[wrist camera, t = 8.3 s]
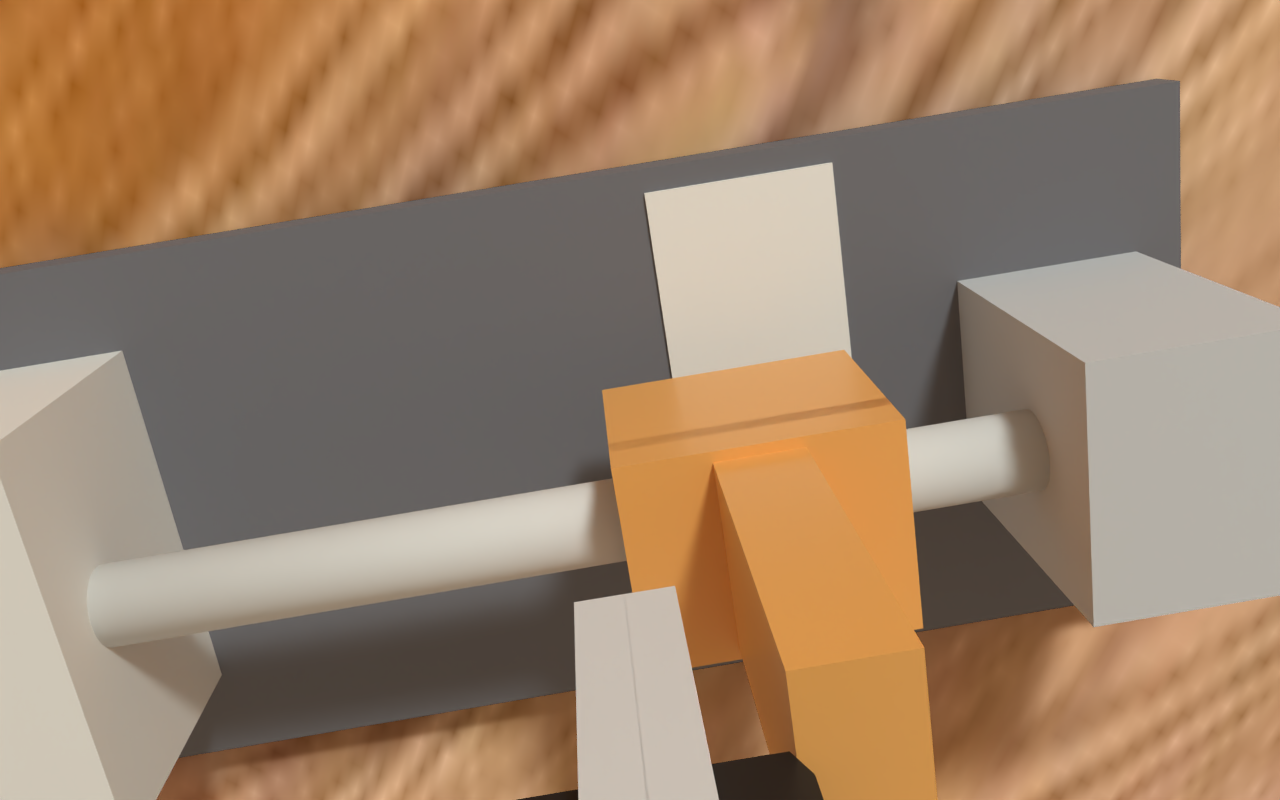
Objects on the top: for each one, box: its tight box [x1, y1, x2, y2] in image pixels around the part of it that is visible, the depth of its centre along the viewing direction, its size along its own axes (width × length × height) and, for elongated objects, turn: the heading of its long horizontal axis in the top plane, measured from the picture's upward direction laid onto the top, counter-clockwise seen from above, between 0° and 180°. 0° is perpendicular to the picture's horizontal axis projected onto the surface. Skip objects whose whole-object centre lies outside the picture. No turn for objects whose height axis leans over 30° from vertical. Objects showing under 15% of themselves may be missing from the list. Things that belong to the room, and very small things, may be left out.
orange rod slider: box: [602, 350, 937, 800], centre depth 19 cm, size 5×4×11 cm
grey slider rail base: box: [0, 79, 1280, 800], centre depth 23 cm, size 26×12×8 cm, turn 99°
